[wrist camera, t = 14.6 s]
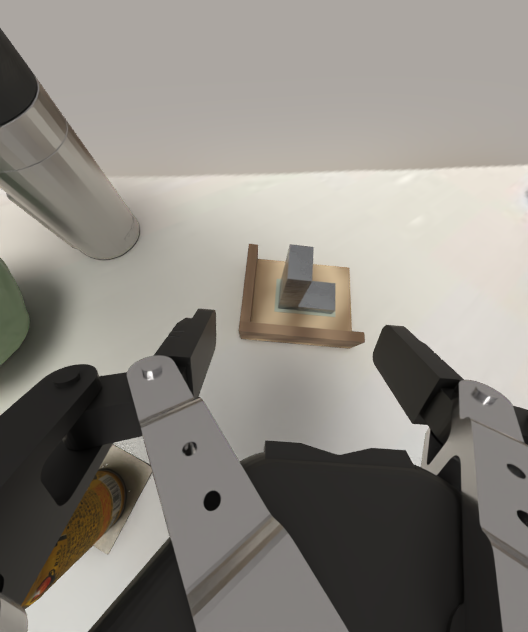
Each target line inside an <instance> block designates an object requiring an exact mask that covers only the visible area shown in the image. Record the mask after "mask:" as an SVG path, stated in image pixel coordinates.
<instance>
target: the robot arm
mask: <svg viewBox="0 0 528 632" xmlns="http://www.w3.org/2000/svg"><path fill="white" fill-rule="evenodd" d="M0 188H1V189H2V190H4V191H5V192H6V194H7V197H8V198H9V199H10V200H11V201H12V202H13V203H15V204H16V205H17V206H19V207H20V208H21V209H23V210H24V211H25V212H27V213H28V214H29V215H30V216H32V217H33V218H34V219H36V220H37V221H38V222H40V223H41V224H42V225H44V226H45V227H46V228H48V229H49V230H50V231H51V232H53V233H54V234H55V235H57V236H58V237H59V238H61V239H62V240H63V241H65V242H66V243H67V244H69V245H70V246H71V247H72V248H78V249H79V250H80V251H81V252H83V253H84V254H86V255H87V256H89V257H92V258H95V259H102V260H103V259H111V258H115V257H118V256H120V255H122V254H124V253H125V252H127V251H128V250H129V249H131V248H132V247H133V245H134V244H135V243H136V241H137V239H138V236H139V224H138V222H137V220H136V219H135V217H134V216H133V214H132V213H131V211H130V210H129V209H128V207H127V206H126V204H125V203H124V201H123V200H122V198H121V197H120V195H119V194H118V193H117V191H116V190H115V188H114V187H113V186H112V184H111V183H110V181H109V180H108V178H107V177H106V176H105V174H104V173H103V172H102V170H101V169H100V167H99V166H98V164H97V163H96V161H95V160H94V159H93V157H92V156H91V154H90V153H89V152H88V150H87V149H86V147H85V146H84V144H83V143H82V142H81V140H80V139H79V137H78V136H77V135H76V133H75V132H74V130H73V129H72V127H71V126H70V125H69V123H68V122H67V121H66V119H65V118H64V116H63V115H62V113H61V112H60V111H59V109H58V108H57V106H56V105H55V103H54V102H53V101H52V99H51V98H50V96H49V95H48V93H47V92H46V91H45V89H44V88H43V86H42V85H41V84H40V82H39V81H38V79H37V78H36V76H35V75H34V74H33V73H32V71H31V70H30V68H29V67H28V65H27V64H26V63H25V61H24V60H23V59H22V57H21V56H20V54H19V53H18V52H17V50H16V49H15V48H14V46H13V45H12V43H11V42H10V41H9V39H8V38H7V37H6V35H5V34H4V32H3V31H2V30H1V28H0ZM215 346H216V312H215V310H209V309H198V310H197V311H196V313H195V315H194V316H193V318H185V319H183V320H182V321H180V322H178V323H177V324H176V326H175V327H174V328H173V330H172V331H171V332H170V334H169V335H168V337H167V338H166V339H165V341H164V342H163V343H162V345H161V346H160V347H159V349H158V350H157V352H156V353H155V354H154V356H150V357H146V358H143V359H141V360H139V361H137V362H135V363H134V364H133V365H132V366H131V367H130V368H129V369H128V371H127V372H126V373H120V374H113V375H106V376H99V375H98V372H97V370H96V368H95V367H93V366H91V365H86V364H79V365H72V366H68V367H64V368H62V369H59V370H57V371H55V372H53V373H51V374H49V375H47V376H46V377H45V378H43V379H42V380H41V381H40V382H39V383H37V384H36V385H35V386H34V387H33V388H32V389H30V390H29V391H28V392H27V393H26V394H25V395H24V396H22V397H21V398H20V399H19V400H18V401H17V402H15V403H14V404H13V405H12V406H11V407H10V408H9V409H7V410H6V411H5V412H4V413H3V414H2V415H0V632H27V631H28V618H27V614H26V612H25V609H24V608H23V607H22V606H21V605H22V603H23V601H24V600H25V598H26V596H27V594H28V593H29V591H30V589H31V587H32V585H33V584H34V582H35V580H36V578H37V577H38V575H39V573H40V571H41V570H42V568H43V566H44V564H45V563H46V561H47V559H48V557H49V556H50V554H51V552H52V550H53V548H54V547H55V545H56V543H57V541H58V540H59V538H60V536H61V534H62V533H63V531H64V529H65V527H66V526H67V524H68V522H69V520H70V519H71V517H72V515H73V513H74V511H75V510H76V508H77V506H78V504H79V503H80V501H81V499H82V497H83V496H84V494H85V492H86V490H87V489H88V487H89V485H90V483H91V481H92V480H93V478H94V476H95V474H96V473H97V471H98V469H99V467H100V466H101V464H102V462H103V460H104V459H105V457H106V455H107V453H108V452H109V450H110V448H111V446H112V444H113V443H114V442H118V441H122V440H127V439H131V438H136V437H140V436H143V439H144V443H145V447H146V450H147V454H148V458H149V461H150V465H151V469H152V472H153V476H154V480H155V484H156V487H157V491H158V495H159V498H160V502H161V506H162V510H163V513H164V517H165V521H166V524H167V528H168V532H169V536H170V537H169V538H168V539H167V541H166V542H165V543H164V544H163V545H162V546H161V548H160V549H159V550H158V551H157V552H156V553H155V555H154V556H153V557H152V558H151V559H150V560H149V562H148V563H147V564H146V565H145V566H144V567H143V568H142V570H141V571H140V572H139V573H138V574H137V575H136V577H135V578H134V579H133V580H132V581H131V582H130V584H129V585H128V586H127V587H126V588H125V589H124V591H123V592H122V593H121V594H120V595H119V596H118V597H117V599H116V600H115V601H114V602H113V603H112V604H111V606H110V607H109V608H108V609H107V610H106V611H105V613H104V614H103V615H102V616H101V617H100V618H99V620H98V621H97V622H96V623H95V624H94V625H93V626H92V628H91V629H90V630H89V631H88V632H528V410H526V409H523V408H519V407H516V406H513V405H512V403H511V402H510V401H509V400H508V399H507V398H506V397H505V396H504V395H502V394H501V393H500V392H498V391H497V390H495V389H493V388H491V387H489V386H487V385H485V384H483V383H480V382H477V381H472V380H464V379H463V378H462V377H461V376H459V375H458V374H457V373H456V372H455V371H454V370H453V369H452V368H451V367H450V366H449V365H448V364H447V363H445V362H444V361H443V360H441V358H440V357H439V356H438V355H437V354H436V353H434V351H432V350H431V349H430V348H429V347H428V346H427V345H426V344H424V343H423V342H421V341H419V340H418V339H417V338H416V337H415V336H414V335H413V334H412V333H411V332H410V331H409V330H408V329H406V328H405V327H404V326H394V325H386V326H384V327H383V329H382V331H381V334H380V336H379V339H378V341H377V344H376V346H375V349H374V352H373V362H374V365H375V366H376V368H377V369H378V371H379V372H380V374H381V376H382V377H383V379H384V380H385V382H386V383H387V385H388V387H389V388H390V390H391V391H392V393H393V394H394V396H395V397H396V399H397V401H398V402H399V404H400V405H401V407H402V408H403V410H404V412H405V413H406V415H407V416H408V418H409V419H410V421H411V422H412V424H423V425H428V426H429V429H428V430H427V432H426V433H425V439H424V447H423V454H422V461H421V467H419V466H416V465H414V464H413V463H412V461H411V459H410V458H409V456H408V454H407V452H406V450H392V449H378V448H370V449H365V450H361V451H356V452H352V453H347V454H343V455H336V454H333V453H330V452H327V451H323V450H320V449H317V448H314V447H311V446H308V445H305V444H302V443H292V442H278V441H265V446H264V452H263V453H259V454H255V455H252V456H250V457H247V458H245V459H243V460H242V461H240V462H239V460H238V458H237V457H236V455H235V453H234V452H233V450H232V448H231V447H230V445H229V443H228V442H227V440H226V438H225V436H224V435H223V433H222V431H221V430H220V428H219V426H218V425H217V423H216V421H215V419H214V418H213V416H212V414H211V413H210V411H209V409H208V408H207V406H206V404H205V402H204V401H203V400H202V398H201V397H198V396H199V393H200V390H201V388H202V385H203V382H204V379H205V376H206V373H207V371H208V368H209V365H210V362H211V359H212V356H213V354H214V351H215Z"/></svg>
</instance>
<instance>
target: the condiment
mask: <svg viewBox="0 0 528 632" xmlns="http://www.w3.org/2000/svg"><path fill="white" fill-rule="evenodd" d="M106 464H108V465H106ZM105 465H106V466H105ZM102 466H104V467H103V468H102ZM151 473H152V469H151V466H149V465H148V464H146V463H144V462H143V461H141V460H139V459H137V458H136V457H134V456H132V455H131V454H129V453H127V452H125V451H124V450H122V449H120V448H118V447H116V446H114V445H113V444H112V446H111V448H110V450H109V452H108V453H107V455H106V457H105V459H104V460H103V462H102V464H101V466H100V467H99V469H98V471H97V473H96V474H95V476H94V478H93V480H92V481H91V483H90V485H89V487H88V489H87V490H86V492H85V494H84V496H83V497H82V499H81V501H80V503H79V504H78V506H77V508H76V510H75V511H74V513H73V515H72V517H71V519H70V520H69V522H68V524H67V526H66V527H65V529H64V531H63V533H62V534H61V536H60V538H59V540H58V541H57V543H56V545H55V547H54V548H53V550H52V552H51V554H50V556H49V557H48V559H47V561H46V563H45V564H44V566H43V568H42V570H41V571H40V573H39V575H38V577H37V578H36V580H35V582H34V584H33V585H32V587H31V589H30V591H29V593H28V594H27V596H26V598H25V600H24V601H23V603H22V605H21V606H22V607H23V608H24V609H26V608H27V607H29V606H30V605H31V604H33V603H34V602H35V601H36V600H38V599H39V598H40V597H41V596H42V595H43V594H44V593H45V592H46V591H47V590H48V589H49V588H50V587H51V586H52V585H53V584H54V583H55V582H56V581H57V580H58V579H59V578H60V577H61V576H62V575H63V574H64V573H65V572H66V571H67V570H68V569H69V568H70V567H71V566H72V565H73V564H74V563H75V562H76V561H78V560H79V559H80V558H81V557H82V556H83V555H84V554H85V553H86V552H87V551H88V550H89V549H90V548H91V547H92V546H95V547H96V548H98V549H99V550H101V551H102V552H104V553H106V554H108V553H109V552H110V550H111V548H112V546H113V544H114V542H115V540H116V539H117V537H118V535H119V533H120V531H121V529H122V527H123V526H124V524H125V522H126V520H127V518H128V516H129V514H130V512H131V511H132V509H133V507H134V505H135V503H136V501H137V499H138V497H139V495H140V494H141V492H142V490H143V488H144V486H145V484H146V482H147V480H148V478H149V476H150V475H151ZM129 491H130V492H129Z"/></svg>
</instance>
